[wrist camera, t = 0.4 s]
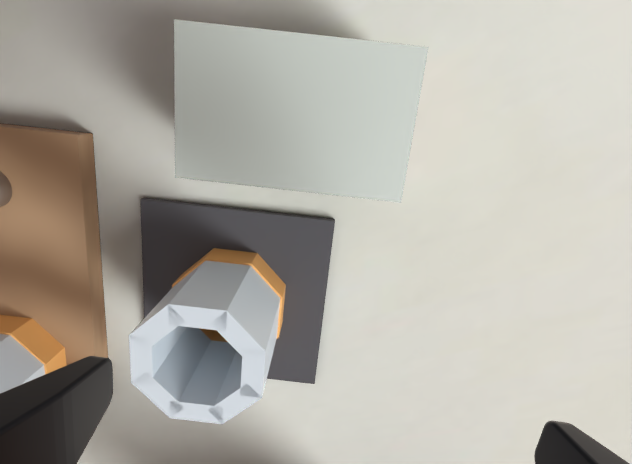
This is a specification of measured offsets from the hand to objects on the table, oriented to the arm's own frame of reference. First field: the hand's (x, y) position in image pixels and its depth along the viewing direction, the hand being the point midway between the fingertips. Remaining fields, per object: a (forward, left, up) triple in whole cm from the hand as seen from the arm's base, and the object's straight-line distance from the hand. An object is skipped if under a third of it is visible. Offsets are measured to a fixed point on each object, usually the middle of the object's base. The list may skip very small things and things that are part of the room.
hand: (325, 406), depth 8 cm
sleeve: (-5, +5, -12) cm, 14 cm away
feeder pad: (-5, +5, -13) cm, 14 cm away
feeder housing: (+5, +2, -13) cm, 14 cm away
